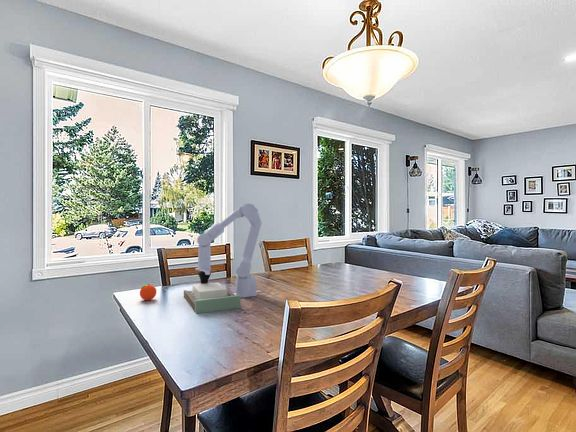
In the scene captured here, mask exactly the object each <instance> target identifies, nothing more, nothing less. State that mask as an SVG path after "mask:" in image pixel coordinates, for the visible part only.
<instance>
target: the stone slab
mask: <svg viewBox="0 0 576 432" xmlns="http://www.w3.org/2000/svg"><path fill="white" fill-rule="evenodd" d="M192 290H193V292H194V293H195V295H196V296H197V297H198V298H199V299H204V298H213V297H222V296H227V291H228V289H227V287H225V286H224V285H223V284H221V283H219V282H208V283H206V284H201V283H197V284H196V283H195V284H192Z"/></svg>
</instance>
